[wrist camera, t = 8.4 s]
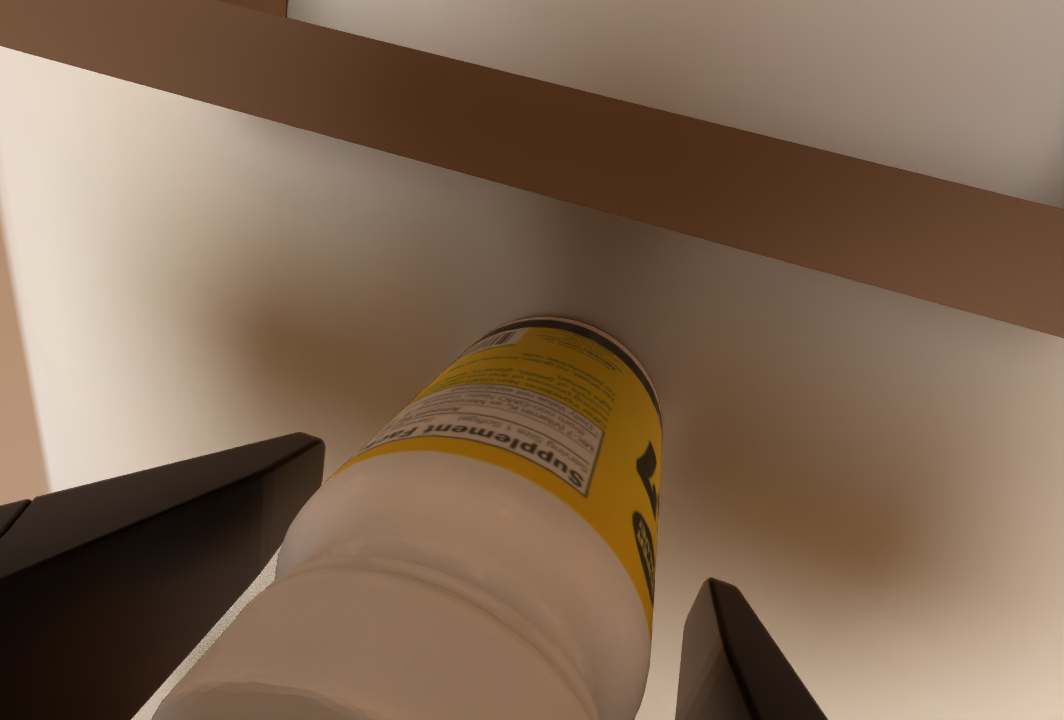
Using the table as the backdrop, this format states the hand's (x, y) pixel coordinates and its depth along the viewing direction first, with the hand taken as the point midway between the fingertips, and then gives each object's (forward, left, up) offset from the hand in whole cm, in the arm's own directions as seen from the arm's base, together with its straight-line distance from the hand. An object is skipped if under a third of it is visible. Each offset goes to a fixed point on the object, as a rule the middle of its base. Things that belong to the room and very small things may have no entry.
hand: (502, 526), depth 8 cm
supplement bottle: (0, 0, -4) cm, 4 cm away
